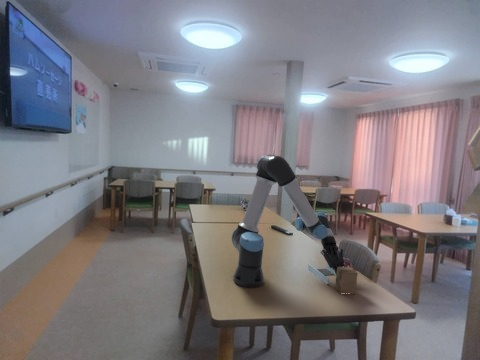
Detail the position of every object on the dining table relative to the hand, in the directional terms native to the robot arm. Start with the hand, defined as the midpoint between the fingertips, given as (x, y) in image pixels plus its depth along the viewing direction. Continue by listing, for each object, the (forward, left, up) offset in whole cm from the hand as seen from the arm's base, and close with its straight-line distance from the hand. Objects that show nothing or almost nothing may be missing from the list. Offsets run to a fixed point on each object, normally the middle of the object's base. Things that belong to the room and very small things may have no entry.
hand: (342, 280), depth 155 cm
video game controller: (+28, -6, -4) cm, 29 cm away
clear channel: (+11, +5, -3) cm, 13 cm away
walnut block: (-5, -1, -3) cm, 6 cm away
